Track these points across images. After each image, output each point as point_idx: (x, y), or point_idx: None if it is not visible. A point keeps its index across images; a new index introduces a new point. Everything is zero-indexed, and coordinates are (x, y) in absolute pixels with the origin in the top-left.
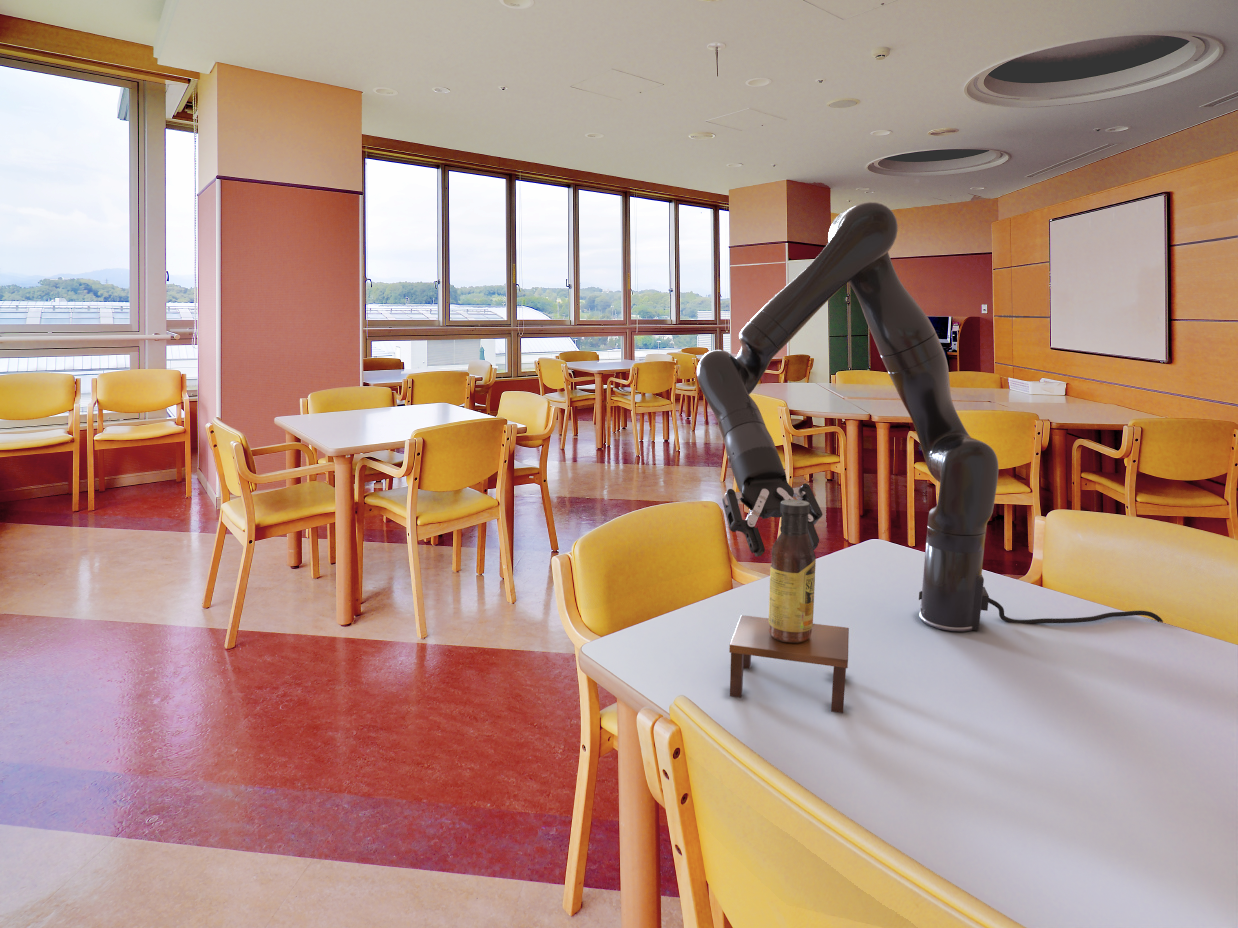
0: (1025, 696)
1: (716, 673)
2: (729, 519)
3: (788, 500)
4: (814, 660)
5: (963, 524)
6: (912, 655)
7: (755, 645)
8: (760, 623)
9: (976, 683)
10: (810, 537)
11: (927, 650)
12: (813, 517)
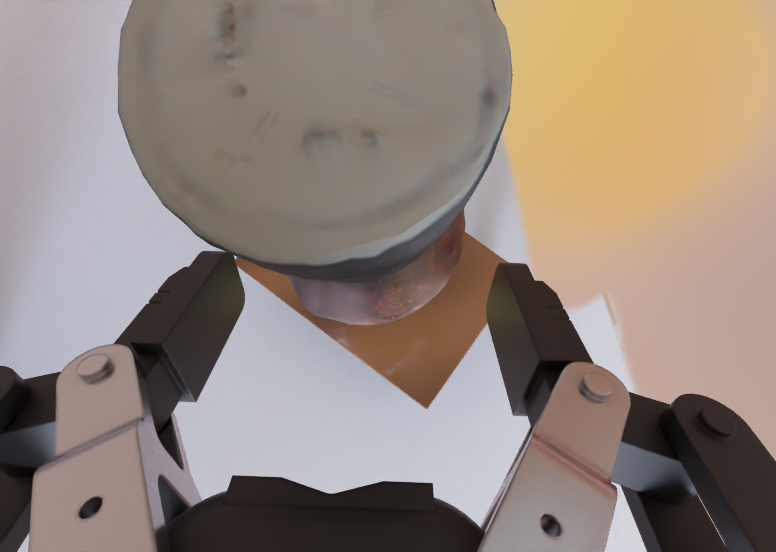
0: (55, 135)
1: (472, 360)
2: (719, 548)
3: (335, 196)
4: None
5: None
6: (108, 304)
7: (472, 252)
8: (407, 348)
9: (89, 190)
10: (211, 284)
11: (68, 312)
12: (47, 394)
